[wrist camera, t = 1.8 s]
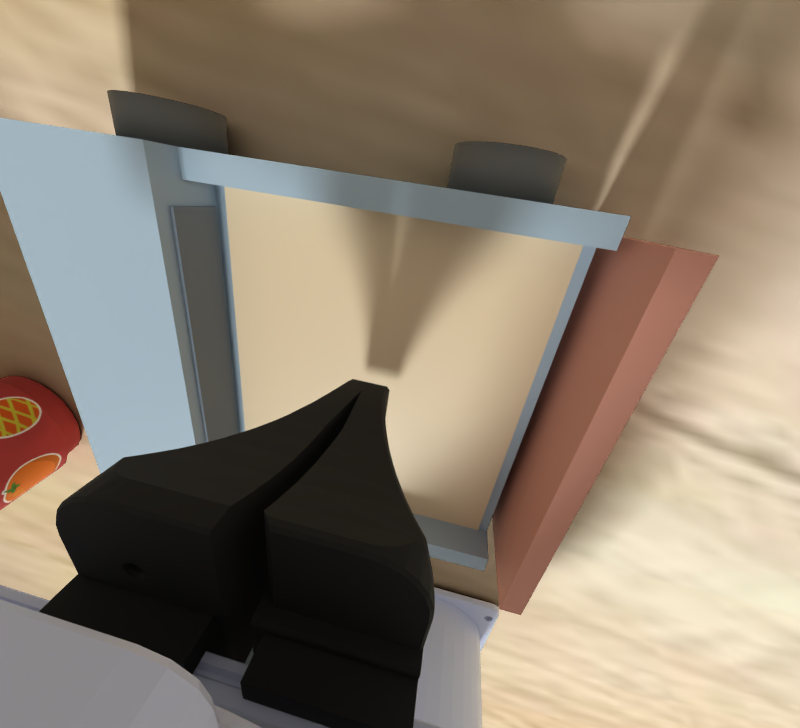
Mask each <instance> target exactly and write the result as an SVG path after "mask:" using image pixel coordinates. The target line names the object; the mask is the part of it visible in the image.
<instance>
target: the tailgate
mask: <svg viewBox="0 0 800 728" xmlns="http://www.w3.org/2000/svg"><path fill="white" fill-rule="evenodd" d="M718 257H719V256H718V255H713V254H708V253H703V252H698V251H693V250H688V249H683V248H678V247H673V246H668V245H663V244H658V243H653V242H648V241H642V240H637V239H632V238H627V237H622V239H621V242H620V244H619V247H618V249H617V251H614V250H608V249H602V248H596V250H595V253H594V255H593V258H592V261H591V263H590V266H589V268H588V271H587V274H586V276H585V279H584V281H583V284H582V286H581V289H580V292H579V294H578V297H577V299H576V302H575V304H574V307H573V310H572V312H571V315H570V317H569V320H568V323H567V325H566V328H565V330H564V333H563V335H562V338H561V341H560V343H559V346H558V348H557V351H556V353H555V356H554V359H553V361H552V364H551V366H550V369H549V371H548V374H547V377H546V379H545V382H544V384H543V387H542V390H541V392H540V395H539V397H538V400H537V402H536V405H535V408H534V410H533V413H532V415H531V418H530V420H529V423H528V426H527V428H526V431H525V433H524V436H523V439H522V441H521V444H520V446H519V449H518V451H517V454H516V457H515V459H514V462H513V464H512V467H511V469H510V472H509V475H508V477H507V480H506V482H505V485H504V488H503V490H502V493H501V495H500V498H499V500H498V503H497V506H496V508H495V511H494V513H493V516H492V518H493V532H494V545H495V558H496V572H497V585H498V598H499V609H501V610H505V611H509V612H512V613H516V614H519V615H521V614H522V612H523V610H524V608H525V607H526V605H527V603H528V601H529V599H530V598H531V596H532V594H533V592H534V590H535V588H536V587H537V585H538V583H539V581H540V579H541V578H542V576H543V574H544V572H545V570H546V568H547V567H548V565H549V563H550V561H551V559H552V558H553V556H554V554H555V552H556V550H557V549H558V547H559V545H560V543H561V541H562V539H563V538H564V536H565V534H566V532H567V530H568V529H569V527H570V525H571V523H572V521H573V520H574V518H575V516H576V514H577V512H578V510H579V509H580V507H581V505H582V503H583V501H584V500H585V498H586V496H587V494H588V492H589V491H590V489H591V487H592V485H593V483H594V481H595V480H596V478H597V476H598V474H599V472H600V471H601V469H602V467H603V465H604V463H605V462H606V460H607V458H608V456H609V454H610V452H611V451H612V449H613V447H614V445H615V443H616V442H617V440H618V438H619V436H620V434H621V432H622V431H623V429H624V427H625V425H626V423H627V422H628V420H629V418H630V416H631V414H632V413H633V411H634V409H635V407H636V405H637V403H638V402H639V400H640V398H641V396H642V394H643V393H644V391H645V389H646V387H647V385H648V384H649V382H650V380H651V378H652V376H653V374H654V373H655V371H656V369H657V367H658V365H659V364H660V362H661V360H662V358H663V356H664V355H665V353H666V351H667V349H668V347H669V345H670V344H671V342H672V340H673V338H674V336H675V335H676V333H677V331H678V329H679V327H680V326H681V324H682V322H683V320H684V318H685V316H686V315H687V313H688V311H689V309H690V307H691V306H692V304H693V302H694V300H695V298H696V297H697V295H698V293H699V291H700V289H701V287H702V286H703V284H704V282H705V280H706V278H707V277H708V275H709V273H710V271H711V269H712V267H713V266H714V264H715V262H716V260H717V258H718Z"/></svg>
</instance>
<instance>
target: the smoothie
mask: <svg viewBox="0 0 800 728" xmlns="http://www.w3.org/2000/svg"><path fill="white" fill-rule="evenodd" d="M79 440H80V431H79V426H78V423H77V421H76V419H75V417H74V415H73V413H72V412H71V410H70V409H69V408H68V407H67V405H66V404H65V403H64V402H63V401H62V400H61V399H60V398H59V397H58V396H57V395H56V394H54V393H53V392H52V391H51V390H49V389H47V388H46V387H44V386H43V385H41V384H40V383H38V382H36V381H33V380H30V379H28V378H25V377H20V376H8V377H4V378H0V510H1V509H3V508H4V507H5V506H7V505H8V504H10V503H11V502H12V501H14V500H15V499H17V498H18V497H19V496H21V495H22V494H24V493H25V492H26V491H28V490H29V489H31V488H32V487H34V486H35V485H36V484H38V483H39V482H41V481H42V480H43V479H45V478H46V477H48V476H49V475H50V474H52V473H53V472H55V471H56V470H58V469H59V468H60V467H61V466H63V465H64V464H65V463H66V459H67V455H68V453H69V452H70V451H72V450H73V449H74V448H75V447H76V446H77V445H78V444H79Z"/></svg>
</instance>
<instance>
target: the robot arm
mask: <svg viewBox="0 0 800 728" xmlns="http://www.w3.org/2000/svg"><path fill="white" fill-rule="evenodd" d="M389 391H390V390H389V389H388V387H387V386H383V385H378V384H373V383H369V382H364V381H360V380H355V379H351V380H350V381H348V382H346V383H344V384H343V385H341V386H340V387H338V388H336V389H335V390H333V391H331V392H330V393H328V394H326V395H324V396H323V397H321V398H319V399H318V400H316V401H314V402H312V403H310V404H308V405H306V406H304V407H302V408H300V409H298V410H296V411H294V412H292V413H291V414H288V415H286V416H284V417H282V418H279V419H277V420H275V421H272V422H269V423H267V424H264V425H262V426H259V427H256V428H253V429H250V430H247V431H244V432H241V433H238V434H234V435H231V436H228V437H225V438H221V439H217V440H213V441H209V442H205V443H201V444H197V445H192V446H188V447H183V448H178V449H173V450H167V451H161V452H155V453H149V454H143V455H137V456H130V457H123V458H122V459H120V460H119V461H118V462H116V463H115V464H113V465H112V466H111V467H109V468H108V469H107V470H105V471H104V472H103V473H101V474H100V475H98V476H97V477H96V478H94V479H93V480H92V481H90V482H89V483H87V484H86V485H85V486H83V487H82V488H81V489H79V490H78V491H77V492H75V493H74V494H72V495H71V496H70V497H68V498H67V499H66V500H64V501H63V502H62V503H61V505H60V506H59V508H58V509H57V514H56V526H57V529H58V532H59V535H60V537H61V539H62V541H63V543H64V545H65V548H66V550H67V552H68V554H69V556H70V558H71V560H72V562H73V564H74V566H75V568H76V570H77V572H78V575H77V576H76V577H75V578H74V579H72V580H71V581H70V582H69V583H68V584H67V585H66V586H65V587H64V588H63V589H62V590H61V591H60V592H59V593H58V594H57V595H56V596H55V597H53V598H52V599H51V600H50V601H49V600H46V599H43V598H40V597H36V596H33V595H30V594H27V593H24V592H21V591H18V590H15V589H12V588H9V587H5V586H2V585H0V728H482V701H481V661H480V652H481V650H482V648H483V646H484V644H485V642H486V640H487V638H488V636H489V634H490V632H491V630H492V628H493V626H494V624H495V622H496V620H497V618H498V616H499V611H498V607H497V606H496V605H495V604H492V603H489V602H485V601H482V600H478V599H474V598H471V597H467V596H464V595H460V594H457V593H453V592H449V591H446V590H442V589H439V588H435V587H434V581H433V573H432V567H431V561H430V555H429V550H428V545H427V540H426V537H425V535H424V534H423V532H422V530H421V528H420V526H419V525H418V523H417V521H416V519H415V517H414V515H413V513H412V511H411V509H410V507H409V504H408V502H407V500H406V498H405V496H404V493H403V490H402V488H401V485H400V483H399V480H398V477H397V475H396V471H395V468H394V465H393V461H392V457H391V453H390V449H389V444H388V438H387V432H386V420H385V418H386V411H387V404H388V397H389Z"/></svg>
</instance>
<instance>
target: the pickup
mask: <svg viewBox="0 0 800 728" xmlns="http://www.w3.org/2000/svg"><path fill="white" fill-rule="evenodd" d="M107 93H108V98H109V103H110V108H111V113H112V118H113V122H114V127H115V132H116V135H109V134H103V133H96V132H90V131H83V130H77V129H70V128H64V127H57V126H51V125H44V124H38V123H31V122H24V121H18V120H11V119H5V118H0V192H1V195H2V197H3V200H4V203H5V206H6V209H7V211H8V214H9V217H10V220H11V223H12V225H13V228H14V231H15V234H16V237H17V240H18V242H19V245H20V248H21V251H22V254H23V256H24V259H25V262H26V265H27V268H28V271H29V273H30V276H31V279H32V282H33V285H34V287H35V290H36V293H37V296H38V299H39V302H40V304H41V307H42V310H43V313H44V316H45V318H46V321H47V324H48V327H49V330H50V333H51V335H52V338H53V341H54V344H55V347H56V349H57V352H58V355H59V358H60V361H61V364H62V366H63V369H64V372H65V375H66V378H67V380H68V383H69V386H70V389H71V392H72V395H73V397H74V400H75V403H76V406H77V409H78V411H79V414H80V417H81V420H82V423H83V426H84V428H85V431H86V434H87V437H88V440H89V442H90V445H91V448H92V451H93V454H94V456H95V459H96V462H97V465H98V468H99V471H100V473H103V472H104V471H105V470H107V469H108V468H109V467H111V466H112V465H113V464H115V463H116V462H118V461H119V460H120V459H122V458H123V457H130V456H137V455H143V454H149V453H155V452H161V451H167V450H173V449H178V448H183V447H188V446H192V445H197V444H201V443H205V442H209V441H213V440H217V439H221V438H225V437H228V436H231V435H234V434H238V433H241V432H244V431H247V430H250V429H253V428H256V427H259V426H262V425H264V424H267V423H269V422H272V421H275V420H277V419H279V418H282V417H284V416H286V415H288V414H291V413H292V412H294V411H296V410H298V409H300V408H302V407H304V406H306V405H308V404H310V403H312V402H314V401H316V400H318V399H319V398H321V397H323V396H324V395H326V394H328V393H330V392H331V391H333V390H335V389H336V388H338V387H340V386H341V385H343V384H344V383H346V382H348V381H350V380H351V379H355V380H360V381H364V382H369V383H373V384H378V385H383V386H387V387H388V389H389V390H390V391H389V397H388V404H387V411H386V418H385V420H386V432H387V438H388V444H389V449H390V453H391V457H392V461H393V465H394V468H395V471H396V475H397V477H398V480H399V483H400V485H401V488H402V490H403V493H404V496H405V498H406V500H407V502H408V504H409V507H410V509H411V511H412V513H413V515H414V517H415V519H416V521H417V523H418V525H419V526H420V528H421V530H422V532H423V534H424V535H425V537H426V540H427V545H428V550H429V555H430V557H433V558H437V559H440V560H444V561H448V562H451V563H455V564H459V565H462V566H466V567H470V568H473V569H477V570H481V571H484V569H485V567H486V564H487V562H488V543H487V529H488V526H489V524H490V521H491V518H492V516H493V513H494V511H495V508H496V506H497V503H498V500H499V498H500V495H501V493H502V490H503V488H504V485H505V482H506V480H507V477H508V475H509V472H510V469H511V467H512V464H513V462H514V459H515V457H516V454H517V451H518V449H519V446H520V444H521V441H522V439H523V436H524V433H525V431H526V428H527V426H528V423H529V420H530V418H531V415H532V413H533V410H534V408H535V405H536V402H537V400H538V397H539V395H540V392H541V390H542V387H543V384H544V382H545V379H546V377H547V374H548V371H549V369H550V366H551V364H552V361H553V359H554V356H555V353H556V351H557V348H558V346H559V343H560V341H561V338H562V335H563V333H564V330H565V328H566V325H567V323H568V320H569V317H570V315H571V312H572V310H573V307H574V304H575V302H576V299H577V297H578V294H579V292H580V289H581V286H582V284H583V281H584V279H585V276H586V274H587V271H588V268H589V266H590V263H591V261H592V258H593V255H594V253H595V250H596V248H602V249H608V250H614V251H617V249H618V247H619V244H620V242H621V239H622V237H623V235H624V232H625V230H626V227H627V225H628V223H629V220H630V218H631V216H626V215H619V214H613V213H606V212H600V211H593V210H587V209H580V208H574V207H567V206H561V205H554V204H553V201H554V197H555V194H556V191H557V188H558V185H559V182H560V178H561V175H562V172H563V169H564V166H565V162H566V158H565V157H564V156H562V155H559V154H557V153H554V152H550V151H547V150H542V149H538V148H533V147H527V146H521V145H514V144H506V143H495V142H461V143H458V144H456V145H455V148H454V154H453V159H452V165H451V170H450V176H449V181H448V187H447V188H443V187H437V186H430V185H424V184H417V183H411V182H404V181H398V180H391V179H385V178H378V177H372V176H365V175H359V174H352V173H346V172H339V171H333V170H326V169H320V168H313V167H307V166H300V165H294V164H287V163H280V162H274V161H267V160H261V159H254V158H248V157H241V156H235V155H229V153H228V140H227V127H226V117H224V116H223V115H220V114H218V113H215V112H213V111H210V110H206V109H203V108H200V107H196V106H193V105H189V104H185V103H181V102H177V101H173V100H169V99H164V98H160V97H155V96H150V95H145V94H140V93H134V92H127V91H119V90H108V91H107Z"/></svg>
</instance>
